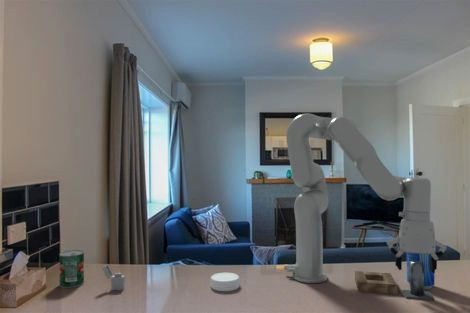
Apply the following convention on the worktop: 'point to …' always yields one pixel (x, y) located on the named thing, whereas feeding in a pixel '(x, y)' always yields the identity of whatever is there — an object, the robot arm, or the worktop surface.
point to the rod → (417, 278)
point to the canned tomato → (71, 268)
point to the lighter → (115, 279)
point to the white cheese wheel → (225, 281)
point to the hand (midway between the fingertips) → (415, 270)
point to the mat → (426, 296)
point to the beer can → (427, 273)
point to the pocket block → (375, 282)
